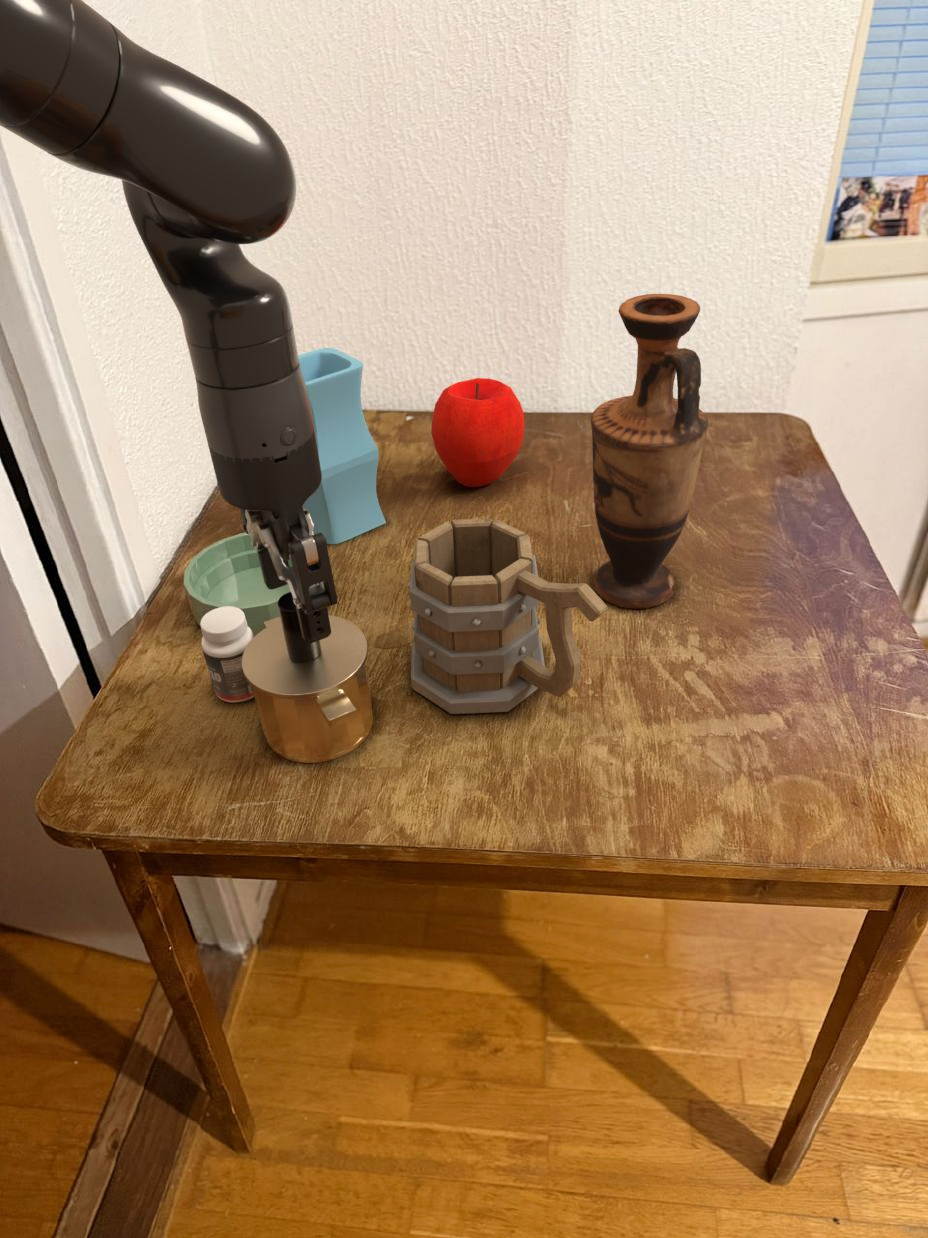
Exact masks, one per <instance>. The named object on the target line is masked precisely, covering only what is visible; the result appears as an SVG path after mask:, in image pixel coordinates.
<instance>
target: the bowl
mask: <svg viewBox="0 0 928 1238" xmlns="http://www.w3.org/2000/svg"><path fill="white" fill-rule="evenodd" d="M251 541H252V540H251V538H250V535H249V534H247V533H246V532H242V533H238V534H235V535H231V536H229V537H225V538H222V539H220V540H218V541H216V542H214V543H211V544H210V545H208V546H206V547H205V548H203V549H202V550H201V551H200V552H199V553H197V554H196V555H195V556H194V557H193V558H191V560H190V561H189V563H188V564H187V566H186V568H185V570H184V572H183V587H184V591H185V593H186V597H187V601H188V605H189V607H190V611H191V615H192V616H193V618H194V620H195V621H196V623H197V625H198V627H201V626H200V622H201V619H202V618H203V616H204V615H205V614H207V613H208V612H210V611H211V610H213V609H216V608H220V607H226V606H231V607H236V608H239V609H241V610H242V611H243V612H244V614H245V618H246V621H247V626H248V627H249V628H250V629H251V630H252V632H253V636H254V637H255V636H256V635H257V634H258V633H260V632H261V631H262V630H264V629H265V625H264V622H266V621H269V620H271V619H274V618H277V617H280V614H279V609H278V604H277V603H278V600H279V598H280V597H281V596H283V595H284V594H286V593H289V592H291V591H290V588H289V585H288V584H287V585H284V586H282V587H279V588H276V589H273V590H271V589H268V587H267V586H266V584H265V583H264V578H263V574H262V570H261V565H260V561H259V557H258V552H257V551H259V550H257V551H256V550H255V548H254V547H253V546H252V544H251ZM288 563H289V567H293V565H292V561H291V560H288ZM315 586H316V585H312V586H310V587H309V588H312V587H315Z"/></svg>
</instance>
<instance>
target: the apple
mask: <svg viewBox="0 0 928 1238" xmlns="http://www.w3.org/2000/svg"><path fill="white" fill-rule="evenodd" d="M430 426H431V427H430V428H431V429H430V430H431V431H430V434H431V437H432V441H433V445H434V448H435V451H436V453H437V455H438V457H439V459H440V460H441V462H442V464H443V465H444V467H445V468H446V470H447V471H448V472H449V473H450V475H451V476H453V478H454V479H455V480H456V481H457V483H459V484H461V485H463V486H465V487H468V488H479V487H483V486H487V485H490V484H492V483H494V482H496V481H497V480H499V479H500V478H501V477H502V476H503V475H504V473H505V472H506V471H507V469H508V468H509V467H510V466H511V464H512V463H513V462H514V461H515V459H516V457H517V455H518V453H519V450H520V449H521V446H522V443H523V439H524V434H525V413H524V410H523V407H522V403H521V401H520V400H519V398H518V397H517V395H516V393H515V392H514V390H513V389H512V387H510V385H507V384H506V383H503V382H502V381H500V380H497V379H493V378H492V379H491V378H485V377H484V378H483V377H476V378H472V379H468V380H461V381H458V382H455V383H452V384H451V385H449V386H447V387H446V388H444V389H443V390H442V392H441V394H440V395H439V397H438V399H437V400H436V402H435V404H434V408H433V413H432V418H431V425H430Z"/></svg>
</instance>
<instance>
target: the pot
mask: <svg viewBox="0 0 928 1238" xmlns="http://www.w3.org/2000/svg"><path fill="white" fill-rule="evenodd" d="M279 621H281V618H280V617H277V618H274V619H271V620H269V621H266V622H264V625H265V628H267V627H268V626H270V625H272V624H274V623H277V622H279ZM251 686H252V685H251ZM252 690H253V694H254V697H253V698H254V701H255V705H256V709H257V713H258V717H259V720H260V724H261V729H262V732H263V735H264V737H265V740H266V742H267V744H268V746H269V747H270V749H271V750H273V752H274V753H276V754H277V755H278V756H280V757H282V758H284V759H286V760H288V761H291V762H295V763H304V764H315V763H316V764H317V763H323V762H328V761H333V760H335V759H339V758H341V757H344V756H345V755H347V754H349V753H350V752H352V751H354V750H355V749H356V748H357V747H360V745H361V744H362V743H363V742H364V741H365V739H366V738H367V737H368V735H369V733H370V732H371V729H372V726H373V723H374V722H373V720H374V716H373V706H372V698H371V691H370V685H369V678H368V671H367V663H365V664H364V666H363V668H362V669H361V671H360V672H359V673H358V674H357V675H356V676H355V677H354V678H353V679H352V680H351V681H349V682H348V683H347V684H345V685H343V686H342V687H340V688H338V689H336V690H334V691H332V692H329V693H326V694H323V695H320V696H316V697H311V698H305V699H283V698H277V697H272V696H269V695H266V694H264V693H262V692H260V691H258V690H257V689H255V688H254V687H253V686H252Z"/></svg>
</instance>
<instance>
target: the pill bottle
mask: <svg viewBox="0 0 928 1238" xmlns="http://www.w3.org/2000/svg"><path fill="white" fill-rule="evenodd" d="M199 627H200V630H201V635H202V638H201V642H200V643H201V650H202V653H203V656H204V660H205V663H206V667H207V670H208V675H209V677H210V680H211V681H210V682H211V684H212V687H213V691H214V694H215V696H216V697H217V698H218V699H220V700H221V701H223V702H227V703H241V702H242V703H243V702H247V701H249V700H251V699H253V698H254V694H253V690H252V686H251V684H250V683H249V682H248V681H247V679H246V678H245V675H244V673H243V669H242V656H243V653H244V651H245V648H246V647H247V645H248V644H249V642H250V641H251V640H252V639H253V638H254V636H253V632H252V630H251V629H250V628H249V627H248V626H247V621H246V618H245V614H244V612H243V611H242V610H241V609H239V608H236V607H231V606H226V607H220V608H216V609H213V610H211V611H210V612H208V613H207V614H205V615H204V616H203V618H202V619H201V622H200V626H199Z"/></svg>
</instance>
